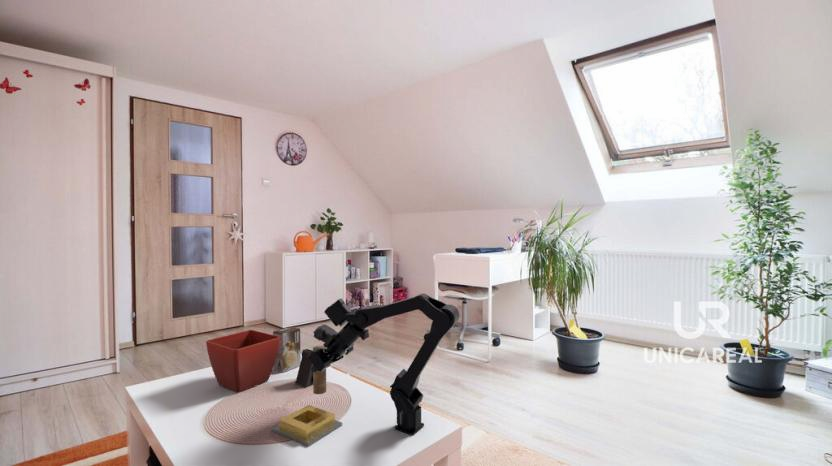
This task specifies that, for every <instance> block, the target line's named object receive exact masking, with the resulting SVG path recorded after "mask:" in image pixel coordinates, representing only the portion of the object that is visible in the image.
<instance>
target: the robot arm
mask: <svg viewBox="0 0 832 466" xmlns="http://www.w3.org/2000/svg"><path fill="white" fill-rule="evenodd" d="M417 310H419V311H420V312H421V313H422V314H424V315H425V317H427V318H428V319H429V320H431V321H432V322H431V325H430V329H429V333H428V335H427V336H426V338H425V340H424V342H423V343H422V344H421V346H420V348H419V349H418V352H417V354H416V355H415V357H414V358H413V359H412V362H411V363H410V365H409V366H408V369H407V370H406V369H405V368H403V369H402V370H400V372H399V373H398V374H397V375H396V376H395V379H394V381H393V383H391V384H390V386H389V388H391V389H390V390H389V395H390V397H391V400H392V402H393V404H394V407H395V409H396V424H397V425H395V426H394V429H395V430H397V431H399V432H402V433H406V434H408V435H412V436H413V435H415V434H416V433H418V431H419V430H421V429H422V428H423V427H424V426H425V423H424V422H422V406H421V405H420V403H421V402H422V401H423V397H424V394H423V393H422V392H421V391H420V389H419V388H418V384H419V382H420V377H421V375H422V373H423V371H424V369H425V368H426V366H427V364H428V363H429V361H430V360H431V357H432V356H433V354H434V352H435V351H436V349H437V348H438V347H439V344H440V342H441V341H442V340H443V338H444V337H445V335H447V333H448V332H449V331H450V330H451V329H452V328H453V326H455V324H456V323H457V322H458V321H459V319H460V317H461V316H460V311H459V310H458V308H457V307H456V306H455V305H454V304H447V303H445V302H444V301H442V300H439V299H436V298H434V297H431V296H430V295H428V294H426V293H420V294H417V295H415V296H412V297H408V298H405V299H402V300H398V301H394V302H391V303H388V304H373V305H367V306H364V307H362V308H359V309H355V310H351V309H350V307H349V306H348V305H347V304H346V303H345V301H344V300H343V298H338V299H337V300H336V301H335V302H333V303H332V304H330V305H329V306H328V307H326V308H325V310H324V312H323V313H324V314H325V316H326V317H327V318H328V319H329V320H330V322H331V323H332V324H333V325H334V327H338V326H339V327H341V329H340V330H339V331H336V330H335V329H334V328H332V327H330V326H329V325H327V324H321V325H319V326H318V327H317V328H315V330H314V331H313V332H312V333H313V338H314V339H316V340H318V341H321V342H323V345H322V346H324V347H325V348H326V349H325V350H322V349H321V348H317V349H315V350H313V349H312V350H313V351H311V352H310V353H309V354H308V359H309V360H310V361H311V362H312V364H313V366H312V368H311V371H312V372H316V371H319V372H321V371H323V370H324V369H326V370H327V368H329V367H331V364H333V363H336V362H339V361H340V360H342V359H343V358H344V355H345V356H348V355H349V354H351V353H352V352H353V351H354V345H355V342H357V340H359V339H360V338H361V340H362V341H365V340H367V339H368V338H370V333H369V329H368V328H369V327H371V326H372V325H375V324H376V323H378V322H380V321H383V320H384V319H387V318H392V317H395V316H398V315H399V316H400V315H403V314H406V313H410V312H414V311H417Z"/></svg>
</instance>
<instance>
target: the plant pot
mask: <svg viewBox="0 0 832 466" xmlns="http://www.w3.org/2000/svg"><path fill="white" fill-rule="evenodd" d="M279 343H280V337H279V336H275V335H273V334H270V333H266V332H262V331H258V330H254V329H247V330H244V331H240V332H236V333H235V332H234V333H232V334H227V335H223V336H218V337H216V338H210V339H207V340H205V344H206V350H207V354H208V359H209V362H210V365H211V366H210V367H211V368H212V372H213V374H214V377H215V380H216V381H217V384H218V385H219V386H220V387H224V388H226V389H228V390H231V391H233V392H235V393H240V392H244V391H246V390H249V389H251V388H254V387H257V386H259V385H261V384H264V383H267V382H268V381H269V379H270V377H271V374H272V371H273V370H274V363H275V360H276V356H277V353H278V348H279Z"/></svg>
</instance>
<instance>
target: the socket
mask: <svg viewBox="0 0 832 466" xmlns="http://www.w3.org/2000/svg"><path fill="white" fill-rule="evenodd" d="M342 426H343V422H341V421H338V420H336V414H335V413H334V412H330V411H327V410H325V409H322V408H319V407H315V406H313V405H310V404H308V405H306V406H304V407H302V408H300V409H298V410H296V411H294V412H292V413H290V414H288V415H286V416H284V417H282V418H280V419H279V423H278V424H277V425H275V426H273V427H271V432H274V433H275V434H279V436H280V435H281V436H283V437H285V438H287V439H290V440H292V441H295V442H296V443H299V444H302V445H303V446H305V447H311V446H312V445H314V444H315V443H317V442H318V441H320V440H322V439H323V438H325V437H326V436H328V435H329V434H331V433H333V432H334V431H336V430H337V429H339V428H340V427H342Z"/></svg>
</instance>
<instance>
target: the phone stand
mask: <svg viewBox="0 0 832 466" xmlns="http://www.w3.org/2000/svg"><path fill="white" fill-rule="evenodd" d="M311 351H313V349H312V350H311V349H307V348H304V349H302V350H301V363H300V366H299V367H298V372H297V375H296V379H295V383H294V384H295V385H298V386H301V387H304V388H306V387H307V388H308V386H309V387H311V386H313V372H312V371H311V368H312V366H313V364H312V362H311V361H310V360H309V359H308V354H309V353H310V352H311Z"/></svg>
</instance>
